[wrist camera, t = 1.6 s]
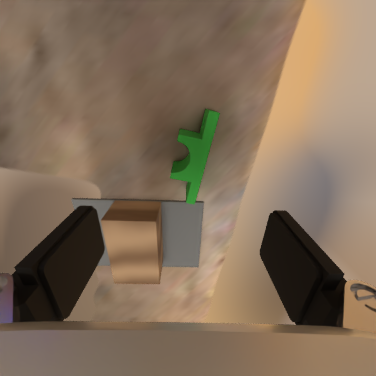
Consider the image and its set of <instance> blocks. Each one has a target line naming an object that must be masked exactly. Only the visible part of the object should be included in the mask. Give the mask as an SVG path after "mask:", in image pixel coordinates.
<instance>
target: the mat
mask: <svg viewBox="0 0 376 376" xmlns="http://www.w3.org/2000/svg"><path fill="white" fill-rule="evenodd" d="M114 201H152V202H161V212H162V238H163V264H162V267H198V266H199V254H200V242H201V230H202V218H203V206H204V202H203V201H195V205H194V204H188V203H186V201H165V200H126V199H88V198H86V199H85V198H73V199H72V203H73V207H74V210H75V209H76V208H77V207H79V206H81V205H85V206H93V207H94V208H95V209H96V210H97V213H98V218H99V222H100V227H101V232H102V236H103V241H104V246H105V251H104V254H103V256H102V258H101V259H100V261H99V263H98V265H106V266H111V265H110V261H109V256H108V252H107V247H106V243H105V238H104V234H103V229H102V225H101V219H102V218H103V216H104V215H105V214H106V212H107V211H108V209H109V208H110V207H111V205H112V204H113V202H114Z"/></svg>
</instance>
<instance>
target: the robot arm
mask: <svg viewBox="0 0 376 376" xmlns="http://www.w3.org/2000/svg"><path fill="white" fill-rule="evenodd" d="M104 251H105V246H104V241H103V236H102V232H101V227H100V222H99V218H98V213H97V210H96V209H95V208H94V207H93V206H85V205H81V206H79V207H77V208H76V209H75V210H74V211H73V212H72V213H71V214H70V215H69V216H68V217H67V218H66V219H65V220H64V221H63V222H62V223H61V224H60V225H59V226H58V227H56V228H55V229H54V230H53V231H52V232H51V233H50V234H49V235H48V236H47V237H46V238H45V239H44V240H43V241H42V242H41V243H40V244H38V246H36V247H35V248H34V249H33V250H32V251H31V252H30V253H29V254H28V255H27V256H26V257H25V258H24V259H23V260H22V261H21V262H20V263H19V264H17V265H16V266H15V269H16V271H15V272H14V273H13V274H12V275H10V274H8V273H0V376H376V287H374V286H372V285H370V284H368V283H365V282H363V281H359V280H349V281H346V280H345V279H344V278H343V276H344V273H343V272H342V271H341V270H340V269H339V267H338V266H336V264H335V263H334V262H333V261H332V260H331V259H330V258H329V257H328V255H326V253H325V252H324V251H323V250H322V249H321V248H320V247H319V246H318V245H317V244H316V243H315V241H314V240H313V239H312V238H311V237H310V236H309V235H308V234H307V233H306V232H305V231H304V229H303V228H302V227H301V226H300V225H299V224H298V223H297V222H296V221H295V220H294V219H293V217H292V216H291V215H290V214H289V213H288V212H287V211H273V213H270V215H269V219H268V222H267V226H266V230H265V234H264V238H263V241H262V245H261V249H260V256H261V259H262V261H263V263H264V265H265V267H266V269H267V271H268V273H269V276H270V278H271V280H272V282H273V284H274V286H275V288H276V290H277V292H278V294H279V297H280V299H281V301H282V303H283V305H284V307H285V309H286V311H287V313H288V316H289V318H290V319H291V320H292V322H295V324H296V325H283V324H278V325H277V324H236V323H235V324H234V323H180V322H95V321H63V320H64V319H66V318H67V317H68V316H69V315H70V313H71V311H72V310H73V308H74V306H75V304H76V302H77V301H78V299H79V297H80V295H81V293H82V292H83V290H84V288H85V286H86V284H87V283H88V281H89V279H90V277H91V276H92V274H93V272H94V270H95V268H96V267H97V265H98V263H99V261H100V259H101V258H102V256H103V254H104Z"/></svg>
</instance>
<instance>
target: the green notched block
mask: <svg viewBox="0 0 376 376" xmlns="http://www.w3.org/2000/svg"><path fill="white" fill-rule="evenodd" d="M219 115H220V113H218V112H216V111H213V110H209V109H205V113H204V117H203V121H202V125H201V129H200V133H197V132H193V131H189V130H184V129H180V130H179V134H178V140H177V141H178V142H181V143H183V144H184V145H185V146H186V147H187V148H188V150H189V154H188V156H187V157H186V158H185V159H184V160H181V161H174V162H173V166H172V171H171V176H170V178H172V179H177V180H182V181H187V182H188V183H187V187H186V203H188V204H194V205H195V201H196V198H197V194H198V190H199V187H200V183H201V180H202V176H203V172H204V169H205V165H206V162H207V158H208V154H209V151H210V147H211V144H212V140H213V136H214V133H215V129H216V126H217V122H218V118H219Z"/></svg>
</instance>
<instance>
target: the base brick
mask: <svg viewBox="0 0 376 376" xmlns="http://www.w3.org/2000/svg"><path fill="white" fill-rule="evenodd" d="M101 225H102V229H103V234H104V238H105V243H106V247H107V252H108V256H109V261H110V265H111V270H112V274H113V279H114V283H121V284H160V278H161V271H162V264H163V238H162V212H161V202H152V201H114V202H113V204H112V205H111V207H110V208H109V209H108V211H107V212H106V214H105V215H104V216H103V218H102V219H101Z"/></svg>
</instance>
